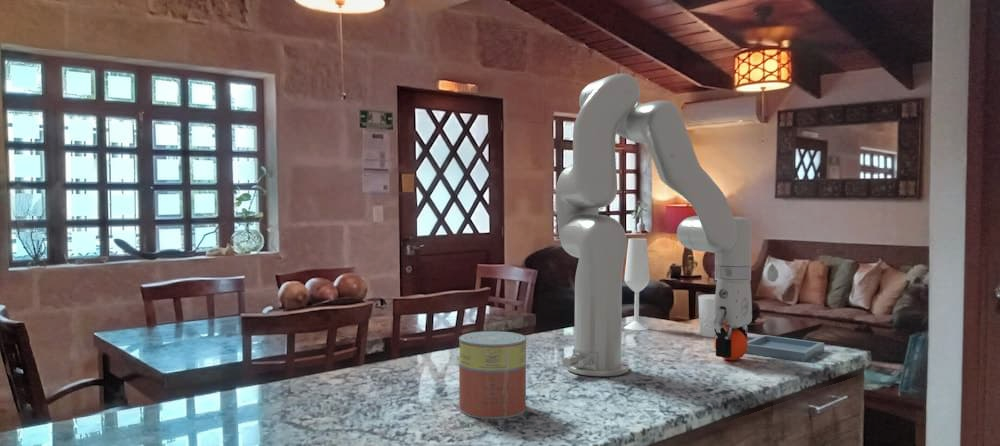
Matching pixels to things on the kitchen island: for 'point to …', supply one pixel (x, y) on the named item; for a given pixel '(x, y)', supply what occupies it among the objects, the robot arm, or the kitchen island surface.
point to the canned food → (492, 374)
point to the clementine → (736, 344)
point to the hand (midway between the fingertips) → (731, 353)
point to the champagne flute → (637, 275)
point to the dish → (784, 348)
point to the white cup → (707, 315)
